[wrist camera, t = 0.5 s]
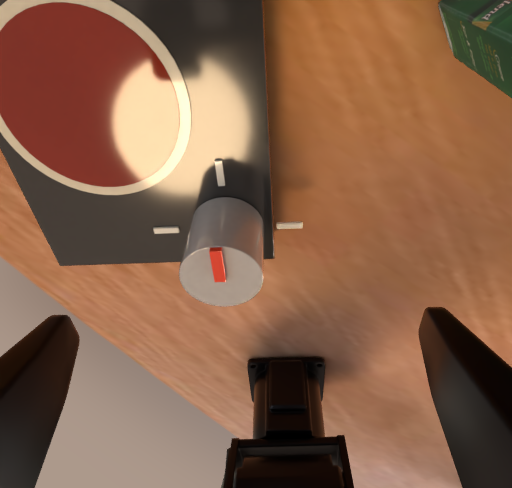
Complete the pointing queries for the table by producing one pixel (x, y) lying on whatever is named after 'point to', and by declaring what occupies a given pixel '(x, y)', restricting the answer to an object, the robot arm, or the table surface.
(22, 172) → the hob
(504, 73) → the coffee box
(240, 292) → the hob knob
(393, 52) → the table surface
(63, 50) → the cooking zone
